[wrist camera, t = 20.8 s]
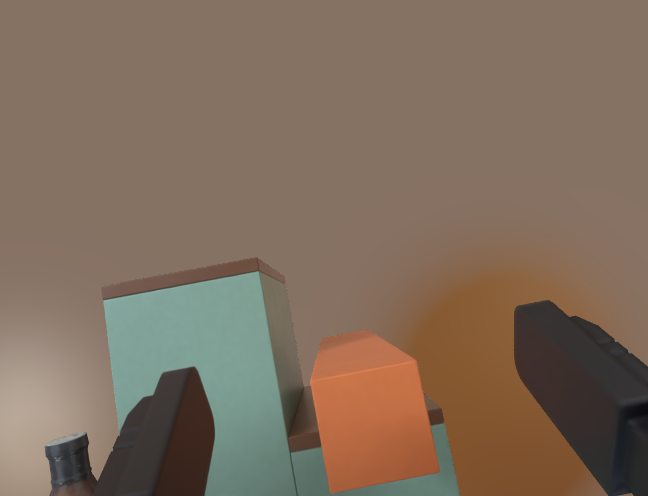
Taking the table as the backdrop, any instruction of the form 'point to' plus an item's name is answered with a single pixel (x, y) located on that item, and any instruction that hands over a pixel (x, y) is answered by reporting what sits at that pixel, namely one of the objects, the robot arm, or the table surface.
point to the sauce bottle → (70, 466)
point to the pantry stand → (239, 378)
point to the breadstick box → (370, 413)
